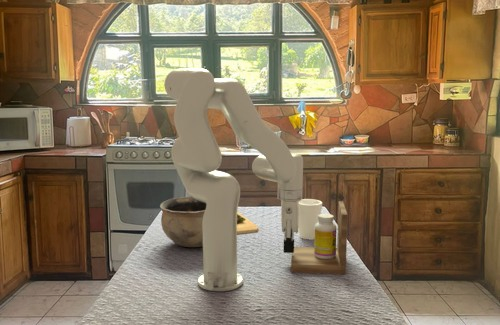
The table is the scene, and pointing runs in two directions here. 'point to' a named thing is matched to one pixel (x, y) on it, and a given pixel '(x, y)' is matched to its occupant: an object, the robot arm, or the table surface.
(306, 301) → the table surface
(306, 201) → the foam cup
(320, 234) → the supplement bottle
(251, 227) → the cutting board
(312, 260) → the wooden bookend
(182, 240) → the ceramic bowl
